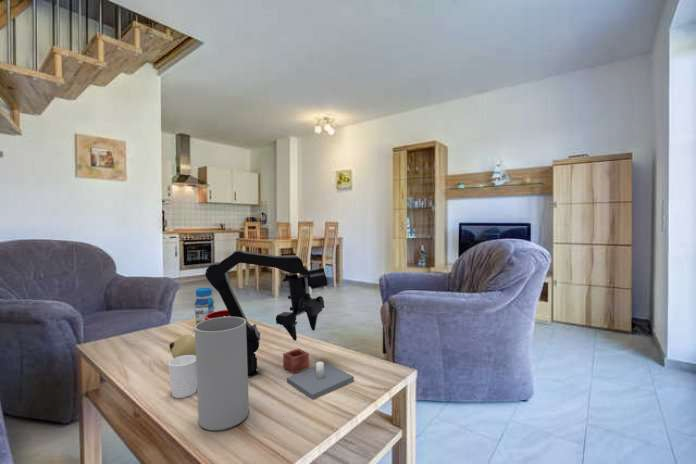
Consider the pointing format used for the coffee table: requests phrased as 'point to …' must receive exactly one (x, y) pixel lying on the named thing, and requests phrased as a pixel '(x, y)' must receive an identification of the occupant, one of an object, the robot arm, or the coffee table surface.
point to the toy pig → (183, 346)
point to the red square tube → (296, 360)
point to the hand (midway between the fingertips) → (304, 335)
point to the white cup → (183, 376)
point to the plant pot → (217, 314)
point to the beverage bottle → (203, 304)
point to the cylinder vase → (221, 372)
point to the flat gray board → (319, 380)
